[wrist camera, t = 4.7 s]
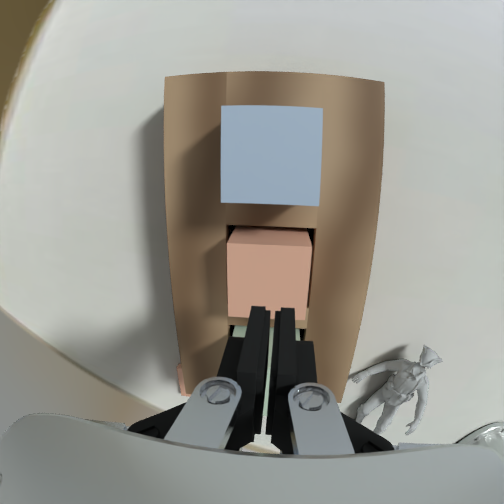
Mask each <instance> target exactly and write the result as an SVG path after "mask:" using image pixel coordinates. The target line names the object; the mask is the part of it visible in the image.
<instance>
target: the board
mask: <svg viewBox="0 0 504 504" xmlns="http://www.w3.org/2000/svg"><path fill="white" fill-rule="evenodd" d="M232 105H267V106H296V107H313V108H323V129H322V160H321V182H320V199H319V206H303V205H281V204H254V203H221V106H232ZM384 113H385V91H384V82H380V81H374V80H367V79H360V78H353V77H345V76H336V75H326V74H313V73H298V72H269V71H245V72H216V73H201V74H188V75H178V76H169V77H165V86H164V181H165V205H166V224H167V239H168V253H169V265H170V276H171V286H172V296H173V305H174V314H175V322H176V330H177V338H178V345H179V352H180V359H181V366H182V372H183V378H184V384H185V390H186V394H192V393H193V391H194V389H195V388H196V386H197V385H198V384H199V383H200V382H202V381H203V380H205V379H208V378H211V377H216V376H217V373H218V370H219V367H220V363H221V360H222V357H223V353H224V350H225V347H226V343H227V340H228V337H229V336H230V325H240V326H247V324H248V320H249V318H245V317H230V316H228V287H227V242H228V240H229V225H250V226H276V227H299V228H314V237H313V250H312V262H311V273H310V283H309V293H308V300H307V308H306V317H305V320H295V328H301V329H304V338H303V341H313V344H314V353H315V362H316V372H317V382H318V384H322V385H324V386H326V387H328V388H329V389H330V390H331V391H332V392H333V394H334V396H335V399H336V401H337V403H341V400H342V397H343V393H344V390H345V386H346V383H347V379H348V375H349V371H350V368H351V364H352V360H353V356H354V351H355V347H356V343H357V339H358V334H359V330H360V325H361V320H362V315H363V310H364V305H365V300H366V295H367V289H368V284H369V278H370V272H371V265H372V259H373V252H374V245H375V238H376V230H377V221H378V213H379V203H380V192H381V180H382V166H383V148H384ZM274 320H275V319H270V327H274Z"/></svg>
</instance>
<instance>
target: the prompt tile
mask: <svg viewBox="0 0 504 504" xmlns="http://www.w3.org/2000/svg"><path fill="white" fill-rule="evenodd" d="M177 373H178V379H179V384H180V390H181V395H182V396H189V397H190V396H191V394H186V390H185V384H184V378H183V372H182V366H181V364H178V366H177Z"/></svg>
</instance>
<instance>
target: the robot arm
mask: <svg viewBox="0 0 504 504" xmlns="http://www.w3.org/2000/svg"><path fill="white" fill-rule="evenodd" d="M270 317H271V310H266V306H251V310H250V315H249V320H248V324H247V329H246V333H245V337H233V336H229V337H228V340H227V343H226V347H225V350H224V353H223V357H222V360H221V363H220V367H219V370H218V373H217V376H216V377H211V378H208V379H205V380H203V381H202V382H200V383H199V384H198V385H197V386H196V388H195V389H194V391H193V393H192V394H191V396H190V398H189V399H188V401H187V402H186V403H183V404H181V405H179V406H176V407H174V408H171V409H169V410H167V411H164V412H162V413H159V414H157V415H154V416H151V417H149V418H146V419H144V420H141V421H138V422H136V423H134V424H133V425H131V426H130V427H129V426H126V425H125V423H117V422H105V421H96V420H88V419H81V418H77V417H72V416H68V415H60V414H47V413H37V414H29V415H27V416H23V417H22V418H20V419H18V420H17V421H16V422H14V423H13V424H12V425H11V426H10V427H9V428H8V429H7V430H6V431H5V432H4V433H3V434H2V435H1V436H0V504H504V423H503V422H497V423H493V424H490V425H487V426H485V427H483V428H481V429H479V430H477V431H475V432H473V433H472V434H470V435H468V436H467V437H465V438H464V439H462V440H461V441H460V442H458V443H457V444H415V443H399V444H398V445H397V446H396V445H392V444H391V443H390V442H389V441H388V440H386V439H385V438H383V437H381V436H380V435H378V434H376V433H374V432H373V431H371V430H369V429H368V428H366V427H364V426H363V425H361V424H359V423H358V422H356V421H355V420H353V419H351V418H350V417H348V416H346V415H345V414H343V413H342V412H340V410H339V407H338V404H337V401H336V399H335V396H334V394H333V392H332V391H331V390H330V389H329V388H328V387H326V386H324V385H322V384H318V382H317V372H316V362H315V353H314V344H313V341H298V340H296V329H295V308H284V307H281V311H275V320H274V332H273V345H272V357H271V368H270V381H269V395H268V409H267V422H266V435H272V436H271V443H272V444H274V445H275V446H276V447H277V448H278V449H280V454H267V453H254V452H243V451H242V447H243V446H245V445H247V444H248V443H250V442H254V435H255V434H261V426H262V417H263V408H264V399H265V389H266V380H267V369H268V354H269V336H270Z"/></svg>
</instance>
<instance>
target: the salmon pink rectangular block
mask: <svg viewBox="0 0 504 504" xmlns="http://www.w3.org/2000/svg"><path fill="white" fill-rule="evenodd" d="M311 255H312V244H311V241H310V238H309V234H308V231H307V228H299V227H276V226H250V225H236V227H235V229H234V231H233V233H232V234H231V236H230V238H229V240H228V242H227V287H228V316H230V317H245V318H249V315H250V310H251V306H266V310H271V317H270V319H275V311H281V307H284V308H295V320H305V317H306V308H307V298H308V288H309V278H310V267H311Z"/></svg>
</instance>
